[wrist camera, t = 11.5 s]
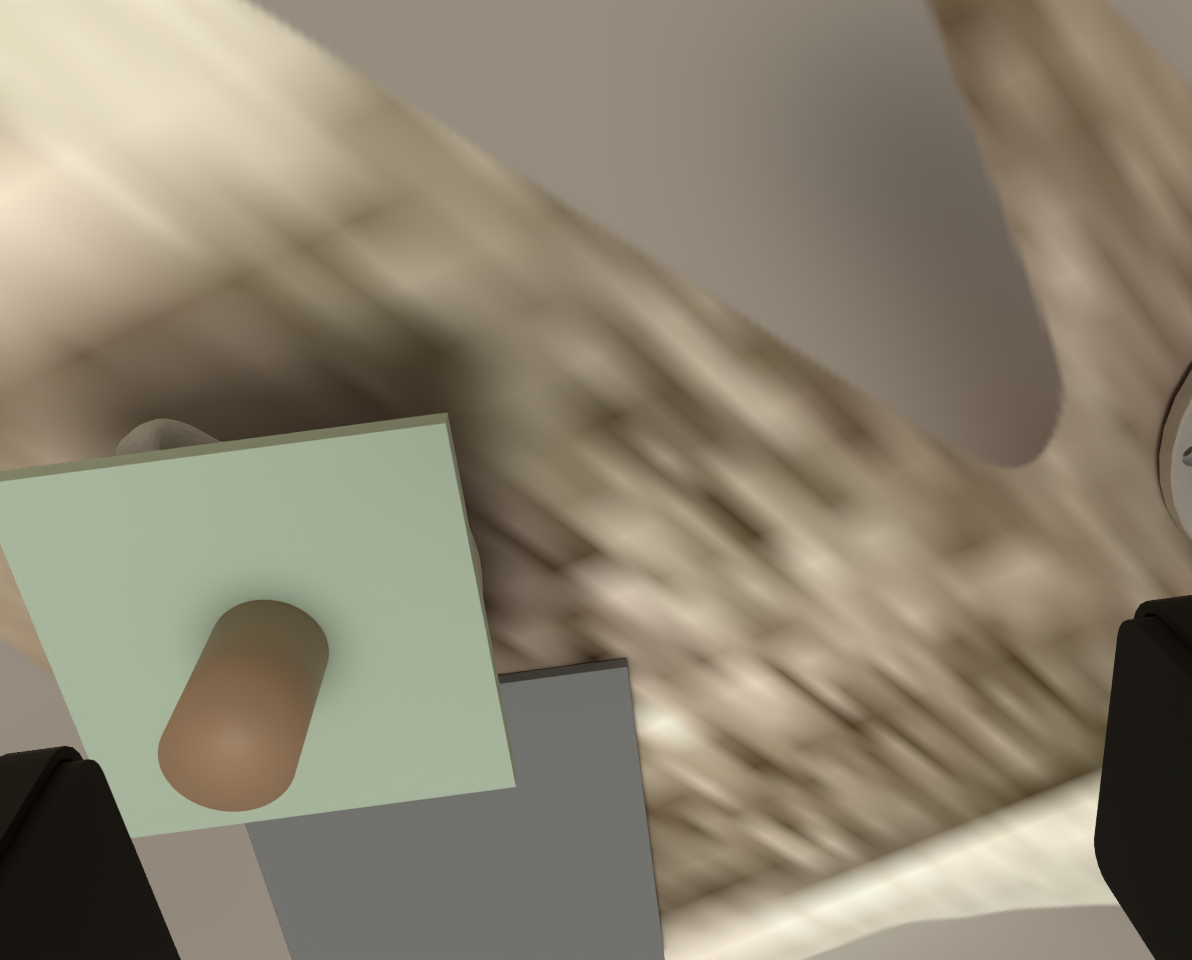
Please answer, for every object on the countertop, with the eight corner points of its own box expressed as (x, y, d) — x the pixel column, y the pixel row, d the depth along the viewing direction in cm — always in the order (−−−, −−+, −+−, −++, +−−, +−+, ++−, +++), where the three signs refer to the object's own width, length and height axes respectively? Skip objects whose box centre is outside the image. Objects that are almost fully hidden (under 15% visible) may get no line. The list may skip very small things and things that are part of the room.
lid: (447, 412, 30) (430, 504, 25) (515, 770, 35) (514, 907, 30) (-11, 472, 30) (-126, 577, 25) (130, 821, 35) (61, 967, 30)
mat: (626, 658, 43) (627, 666, 43) (663, 949, 51) (664, 960, 50) (213, 713, 43) (209, 722, 43) (311, 997, 51) (308, 1008, 50)
